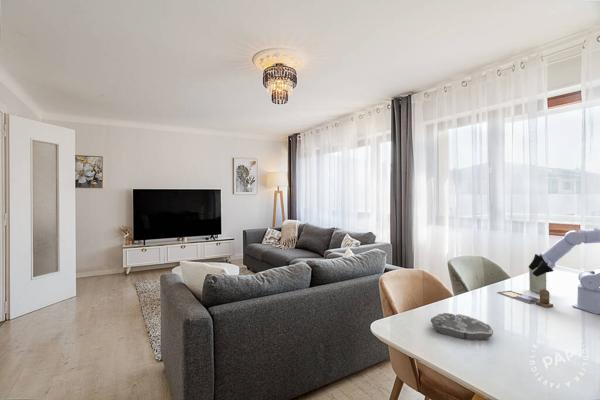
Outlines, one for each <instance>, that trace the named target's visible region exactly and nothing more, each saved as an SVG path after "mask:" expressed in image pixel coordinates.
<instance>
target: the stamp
mask: <svg viewBox="0 0 600 400" xmlns="http://www.w3.org/2000/svg"><path fill="white" fill-rule="evenodd" d="M550 294H551V293H550V291H549V290H547V288H546V289H542V290H540V293H539V299H540V301H537V302H536V303H535V305H536V306H539V307H543V308H545V309H546V308H547V309H548V308H553V307H554V304H553V303H551V302H550Z"/></svg>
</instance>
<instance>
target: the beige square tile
mask: <svg viewBox="0 0 600 400" xmlns="http://www.w3.org/2000/svg"><path fill="white" fill-rule="evenodd" d="M496 293H497V294H499V295H502V296H505V297H508V298H510V299H515V296H521V295H523V294H522V293H519V292H517V291H514V290H513V291H512V290H506V291H505V290H503V291H497V292H496ZM515 300H516V299H515Z"/></svg>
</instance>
